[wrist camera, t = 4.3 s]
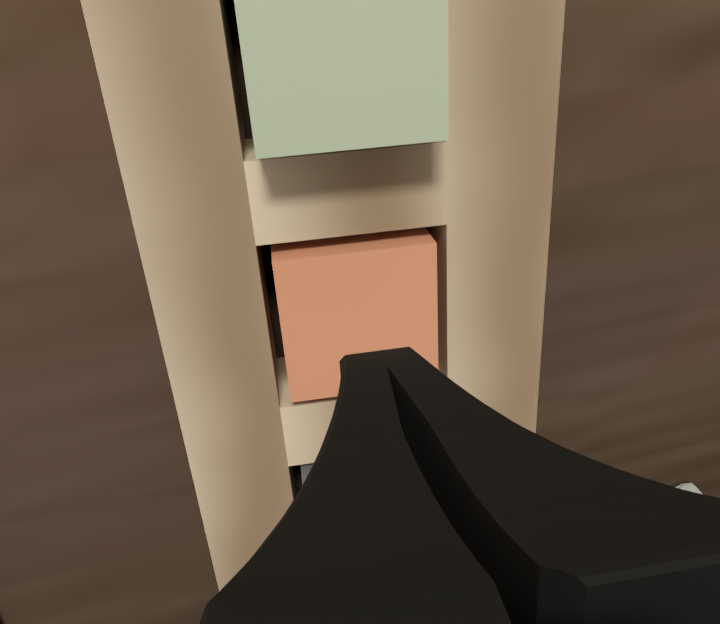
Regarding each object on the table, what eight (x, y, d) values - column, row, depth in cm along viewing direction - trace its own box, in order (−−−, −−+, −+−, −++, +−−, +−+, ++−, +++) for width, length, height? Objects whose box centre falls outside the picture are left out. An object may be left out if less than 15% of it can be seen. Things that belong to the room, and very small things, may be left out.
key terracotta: (287, 357, 17) (291, 402, 15) (270, 229, 15) (271, 261, 13) (418, 340, 17) (438, 382, 15) (414, 213, 16) (436, 242, 14)
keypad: (234, 573, 21) (231, 641, 19) (72, -175, 12) (30, -216, 10) (497, 530, 22) (524, 590, 20) (526, -195, 13) (581, -237, 11)
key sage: (256, 137, 13) (255, 158, 11) (229, -59, 12) (223, -71, 10) (421, 121, 14) (449, 140, 12) (417, -70, 12) (448, -86, 10)
